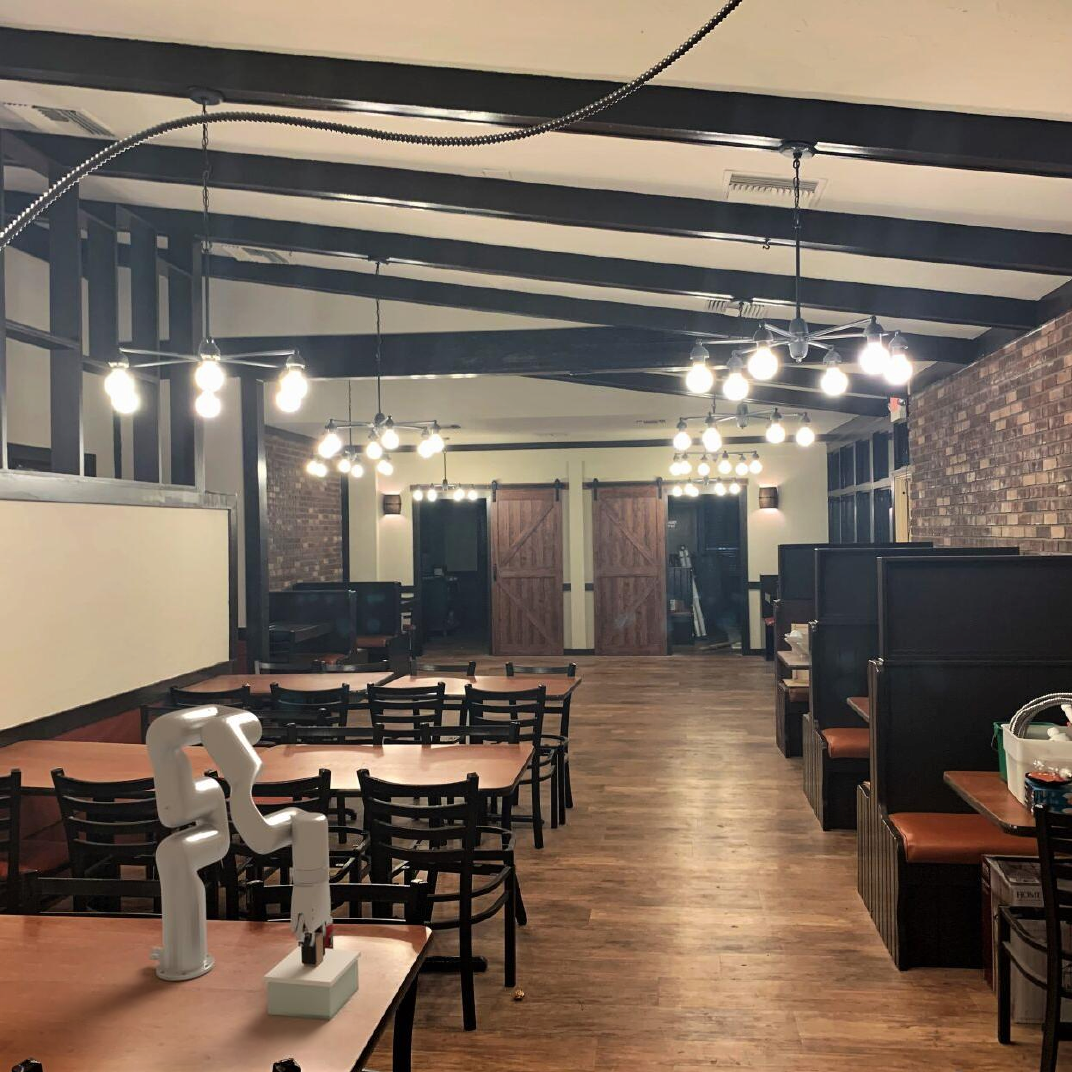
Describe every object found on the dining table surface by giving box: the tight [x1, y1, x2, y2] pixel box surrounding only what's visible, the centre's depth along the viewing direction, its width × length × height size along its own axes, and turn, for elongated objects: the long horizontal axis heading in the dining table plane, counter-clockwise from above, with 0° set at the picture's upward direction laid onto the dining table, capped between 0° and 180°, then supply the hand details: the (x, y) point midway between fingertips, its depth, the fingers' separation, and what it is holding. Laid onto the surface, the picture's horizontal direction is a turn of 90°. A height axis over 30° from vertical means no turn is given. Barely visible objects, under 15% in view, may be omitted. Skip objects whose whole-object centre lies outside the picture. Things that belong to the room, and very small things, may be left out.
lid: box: [263, 932, 362, 987], centre depth 204 cm, size 15×15×7 cm
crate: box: [267, 958, 360, 1021], centre depth 204 cm, size 14×14×7 cm
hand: (313, 958), depth 204 cm, fingers open, 3 cm apart
